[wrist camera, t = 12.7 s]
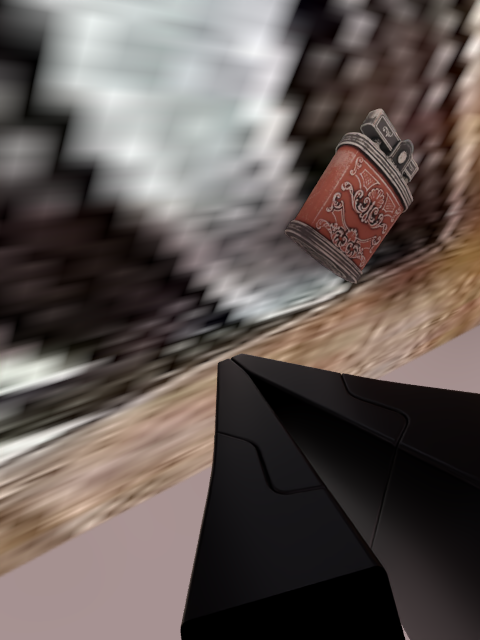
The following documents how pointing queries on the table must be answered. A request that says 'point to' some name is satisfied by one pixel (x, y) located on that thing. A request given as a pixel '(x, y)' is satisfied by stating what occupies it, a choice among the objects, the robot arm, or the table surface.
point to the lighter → (356, 198)
